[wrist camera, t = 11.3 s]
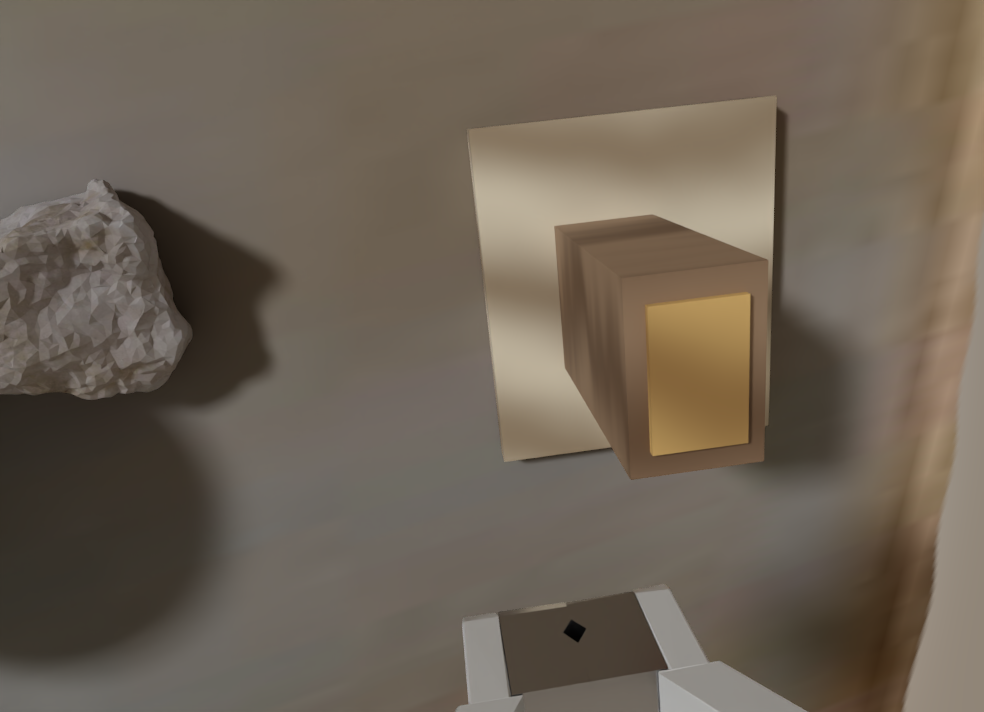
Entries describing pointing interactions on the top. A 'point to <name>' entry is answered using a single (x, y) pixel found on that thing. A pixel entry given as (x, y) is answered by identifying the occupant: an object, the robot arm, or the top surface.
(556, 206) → the birch board
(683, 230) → the walnut block
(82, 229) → the stone
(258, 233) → the top surface
